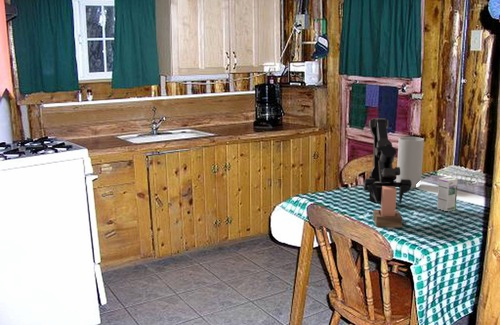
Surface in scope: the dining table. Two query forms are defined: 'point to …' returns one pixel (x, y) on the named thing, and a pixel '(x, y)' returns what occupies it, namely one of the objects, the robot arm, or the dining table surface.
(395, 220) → the socket block
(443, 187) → the syrup box
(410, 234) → the dining table surface
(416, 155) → the cylinder vase
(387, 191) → the square peg
